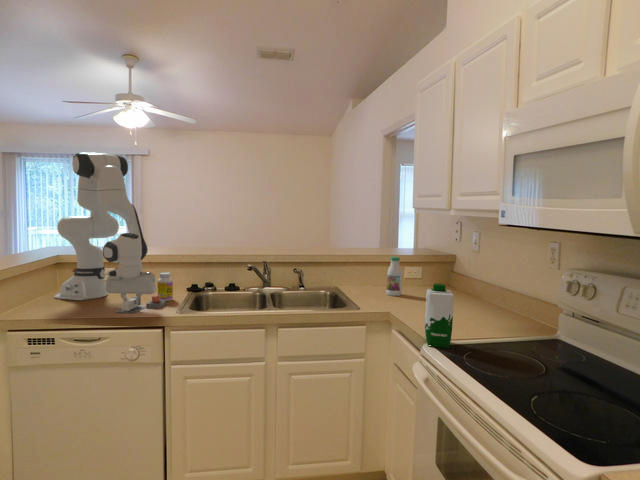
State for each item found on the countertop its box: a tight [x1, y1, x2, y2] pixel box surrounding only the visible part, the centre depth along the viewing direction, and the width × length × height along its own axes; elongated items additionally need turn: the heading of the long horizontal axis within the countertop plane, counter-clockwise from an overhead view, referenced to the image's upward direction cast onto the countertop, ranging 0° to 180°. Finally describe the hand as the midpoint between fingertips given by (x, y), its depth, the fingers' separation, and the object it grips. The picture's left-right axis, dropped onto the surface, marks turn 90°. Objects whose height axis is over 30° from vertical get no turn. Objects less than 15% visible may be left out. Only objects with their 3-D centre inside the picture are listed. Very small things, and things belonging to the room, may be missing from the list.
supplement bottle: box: [157, 272, 174, 302], centre depth 184 cm, size 7×7×13 cm
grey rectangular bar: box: [121, 296, 142, 311], centre depth 167 cm, size 10×3×3 cm, turn 179°
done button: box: [151, 294, 160, 303], centre depth 173 cm, size 3×3×3 cm
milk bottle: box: [386, 256, 403, 297], centre depth 206 cm, size 8×8×20 cm
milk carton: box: [424, 283, 454, 349], centre depth 132 cm, size 9×9×20 cm
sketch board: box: [115, 305, 146, 314], centre depth 167 cm, size 8×11×1 cm
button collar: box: [145, 300, 167, 309], centre depth 173 cm, size 6×6×2 cm
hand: (131, 303), depth 167 cm, fingers closed on grey rectangular bar, 3 cm apart
